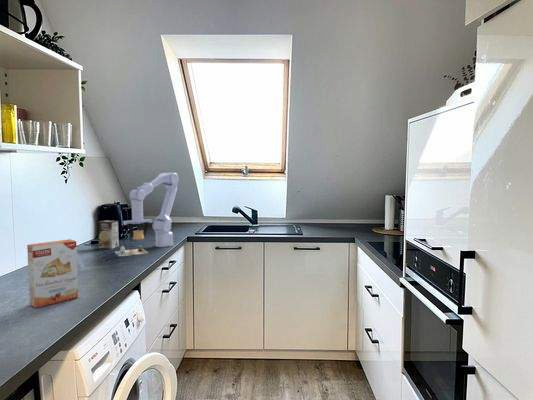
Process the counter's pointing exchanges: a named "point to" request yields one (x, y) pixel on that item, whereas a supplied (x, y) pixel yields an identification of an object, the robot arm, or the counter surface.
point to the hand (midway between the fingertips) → (138, 236)
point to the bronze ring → (138, 234)
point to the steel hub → (122, 249)
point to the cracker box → (52, 272)
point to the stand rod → (139, 248)
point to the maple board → (133, 252)
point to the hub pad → (122, 253)
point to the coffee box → (108, 234)
